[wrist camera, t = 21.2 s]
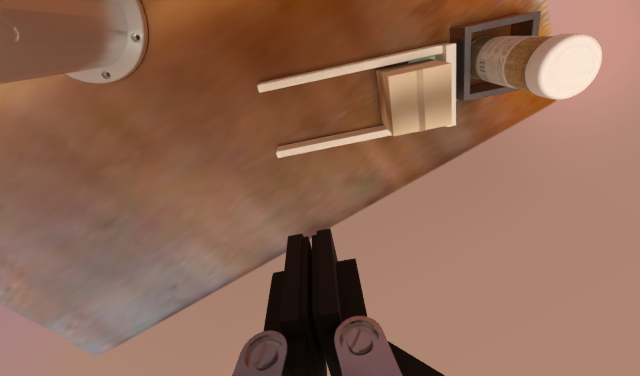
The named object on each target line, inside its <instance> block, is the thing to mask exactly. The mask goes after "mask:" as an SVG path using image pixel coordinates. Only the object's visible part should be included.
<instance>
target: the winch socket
mask: <svg viewBox="0 0 640 376" xmlns="http://www.w3.org/2000/svg"><path fill="white" fill-rule="evenodd" d="M540 13H541V11H535V12H525V13H517V14H513V15H508V16H504V17H499V18H495V19H490V20H485V21H481V22H476V23H472V24H467V25H463V26H458V27H454V28H450V43H456V98H457V99H460V100H462V101H468V100H473V99H477V98H482V97H487V96H492V95H497V94H502V93H507V92H512V91H516V90H521V89H514V88H510V87H506V86H502V85H498V84H494V83H490V82H489V83H484V84H479V85H474V86H470V61H471V33H473V32H478V31H482V30H487V29H491V28H496V27H500V26H505V25H510V24H512V29H511V36H538V31H539V22H540Z"/></svg>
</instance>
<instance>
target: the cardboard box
mask: <svg viewBox="0 0 640 376" xmlns="http://www.w3.org/2000/svg"><path fill="white" fill-rule="evenodd" d="M376 75H377V84H378V94H379V103H380V112H381V121H382V123H383V124H384V125H385V126H386V128H387V129H388V130H389V131H390V132H391V134H392V135H393V136H398V135H403V134H408V133H413V132H418V131H420V132H421V131H426V130H428V129H433V128H438V127H443V126H448V125H452V63H448V62H443V61H438V60H433V59H426V60H421V61H417V62H412V63H407V64H403V65H398V66H393V67H389V68H384V69H379V70H376Z"/></svg>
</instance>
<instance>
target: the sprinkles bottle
mask: <svg viewBox="0 0 640 376" xmlns="http://www.w3.org/2000/svg"><path fill="white" fill-rule="evenodd" d="M601 61H602V51H601V47H600V45H599V43H598V42H597V41H596V40H595V39H594V38H593V37H591V36H588V35H584V34H560V35H556V36H553V37H541V36H499V37H493V36H487V35H485V36H482V37H479V38H477V39H475V40H473V41H472V42H471V61H470V77H471V78H473V79H482V80H484V81H487V82H490V83H494V84H498V85H502V86H506V87H510V88H514V89H522V90H527V91H530V92H532V93H534V94H535V95H538V96H541V97H545V98H550V99H557V100H559V99H566V98H570V97H572V96H575V95H576V94H578V93H580V92H581V91H583V90H584V89H585V88H586V87H587V86H588V85H589V84H590V83H591V82H592V81H593V79H594V78H595V76H596V75H597V73H598V71H599V69H600V66H601Z"/></svg>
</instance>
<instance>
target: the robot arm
mask: <svg viewBox="0 0 640 376" xmlns="http://www.w3.org/2000/svg"><path fill="white" fill-rule="evenodd" d="M138 35H139V36H140V40H139V39H138ZM147 43H148V28H147V21H146V16H145V13H144V10H143V7H142V4H141V2H140V0H0V84H1V83H8V82H14V81H21V80H27V79H34V78H40V77H46V76H53V75H59V74H65V75H67V76H69V77H71V78H73V79H76V80H79V81H83V82H87V83H94V84H102V83H111V82H115V81H118V80H121V79H123V78H125V77H127V76H128V75H130V74H131V73H133V72H134V71H135V70H136V68H137V67H138V66H139V65H140V64H141V61H142V59H143V57H144V55H145V52H146V48H147ZM109 74H110V75H109ZM326 362H327V365H328V368H329V371H330V374H331V376H444V375H443V374H441V373H439V372H438V371H436V370H435V369H433V368H431V367H430V366H428V365H426V364H425V363H423V362H421V361H420V360H418V359H416V358H415V357H413V356H412V355H410V354H408V353H407V352H405V351H403V350H402V349H400V348H398V347H397V346H395V345H393V344H392V343H390V342H389V341H387V339H386V336H385V334H384V332H383V330H382V328H381V327H380V325H379V324H378V323H377V322H376V321H375V320H373V319H371V318H369V317H367V313H366V309H365V304H364V298H363V294H362V289H361V284H360V279H359V274H358V269H357V264H356V260H355V259H349V260H344V261H338V260H337V256H336V251H335V247H334V242H333V238H332V233H331V229H325V230H319V231H317V235H313V236H312V248H311V244H310V241H309V237H308V236H307V237H303V234H298V235H292V236H288V242H287V251H286V261H285V270H284V271H281V272H276V273H274V274H273V276H272V281H271V288H270V294H269V300H268V307H267V314H266V319H265V326H264V331H263V332H261V333H259V334H256V335H255V336H253V337H252V338H251V339H249V341H248V342H247V343H246V344H245V345H244V347H243V349H242V351H241V353H240V356H239V359H238V361H237V364H236V367H235V369H234V372H233V375H232V376H327V365H326Z"/></svg>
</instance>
